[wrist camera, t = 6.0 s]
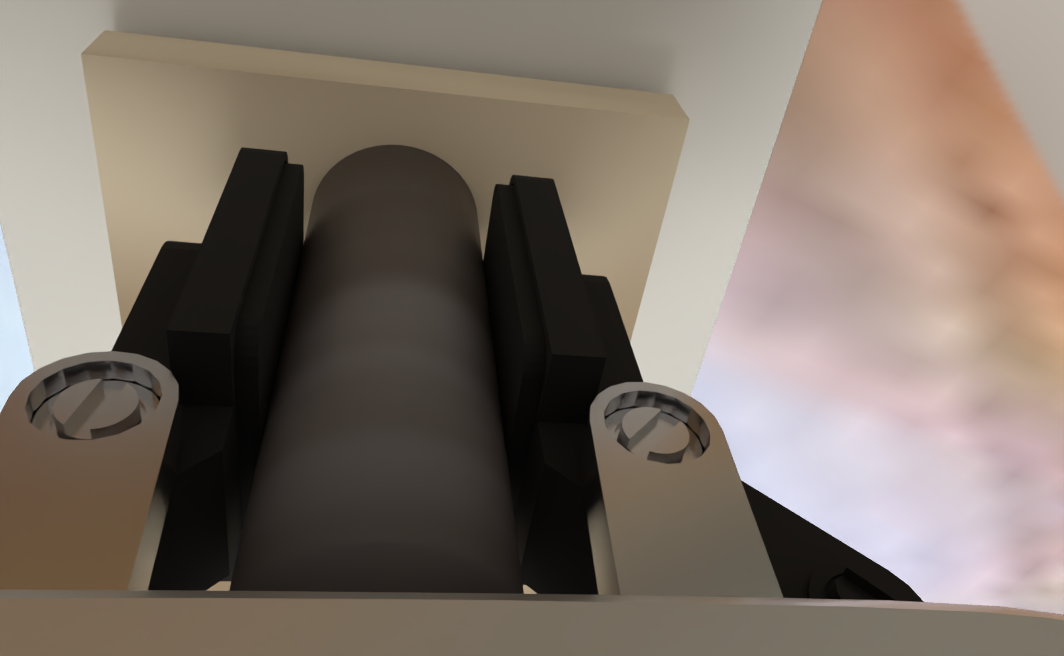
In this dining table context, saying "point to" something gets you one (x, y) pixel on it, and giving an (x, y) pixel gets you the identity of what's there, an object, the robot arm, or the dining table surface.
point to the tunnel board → (424, 40)
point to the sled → (377, 278)
